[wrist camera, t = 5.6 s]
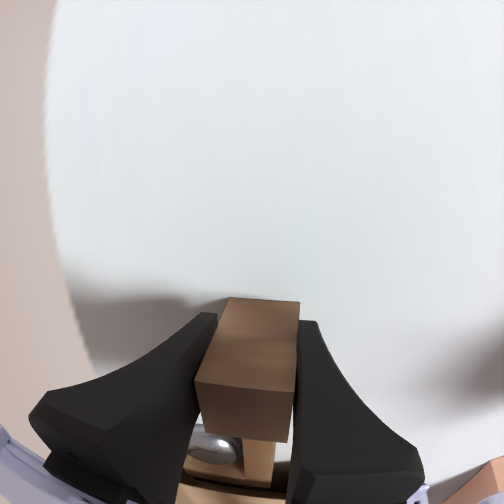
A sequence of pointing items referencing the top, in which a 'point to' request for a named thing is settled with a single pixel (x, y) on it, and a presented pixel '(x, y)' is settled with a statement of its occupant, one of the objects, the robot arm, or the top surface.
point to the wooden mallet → (248, 387)
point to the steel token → (212, 447)
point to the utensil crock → (481, 484)
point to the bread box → (221, 493)
